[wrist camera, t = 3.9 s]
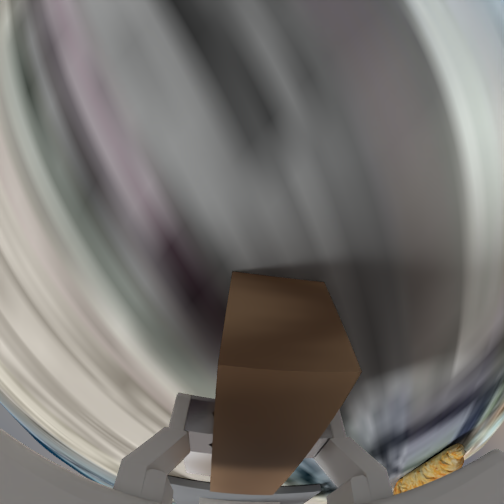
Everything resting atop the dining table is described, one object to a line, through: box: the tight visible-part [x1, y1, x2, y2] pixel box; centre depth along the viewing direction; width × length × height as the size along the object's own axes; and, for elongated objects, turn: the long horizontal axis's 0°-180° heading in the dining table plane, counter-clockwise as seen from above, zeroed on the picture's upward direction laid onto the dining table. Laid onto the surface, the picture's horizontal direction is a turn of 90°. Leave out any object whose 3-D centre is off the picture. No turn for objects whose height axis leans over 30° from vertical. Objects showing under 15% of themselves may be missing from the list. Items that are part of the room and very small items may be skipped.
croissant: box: [393, 443, 466, 495], centre depth 18 cm, size 21×10×8 cm, turn 10°
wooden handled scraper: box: [184, 271, 362, 495], centre depth 10 cm, size 7×18×4 cm, turn 172°
